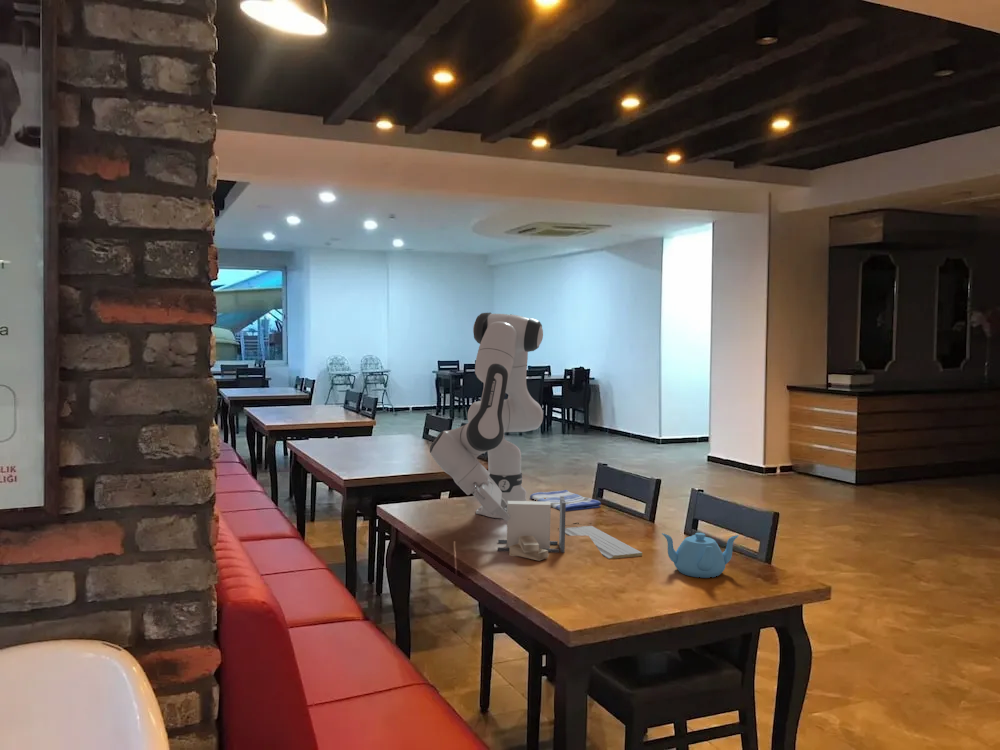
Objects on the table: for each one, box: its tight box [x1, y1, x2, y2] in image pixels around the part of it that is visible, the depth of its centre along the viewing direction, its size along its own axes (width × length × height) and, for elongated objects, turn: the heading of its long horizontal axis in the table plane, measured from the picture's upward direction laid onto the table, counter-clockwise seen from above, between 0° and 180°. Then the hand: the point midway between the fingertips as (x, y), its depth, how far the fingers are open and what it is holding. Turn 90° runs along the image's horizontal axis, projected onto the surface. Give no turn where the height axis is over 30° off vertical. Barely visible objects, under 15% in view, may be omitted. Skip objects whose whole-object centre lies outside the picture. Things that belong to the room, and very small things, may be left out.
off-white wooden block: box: [506, 500, 552, 549], centre depth 217 cm, size 4×12×14 cm, turn 89°
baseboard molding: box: [565, 522, 643, 560], centre depth 228 cm, size 31×3×12 cm
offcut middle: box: [508, 543, 549, 561], centre depth 208 cm, size 4×10×2 cm, turn 51°
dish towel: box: [529, 489, 602, 512], centre depth 281 cm, size 17×24×3 cm
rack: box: [497, 496, 567, 554], centre depth 217 cm, size 9×18×15 cm, turn 89°
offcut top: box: [519, 536, 539, 552], centre depth 209 cm, size 4×9×2 cm, turn 8°
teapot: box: [661, 532, 739, 579], centre depth 201 cm, size 15×15×10 cm
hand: (509, 515), depth 217 cm, fingers open, 8 cm apart
